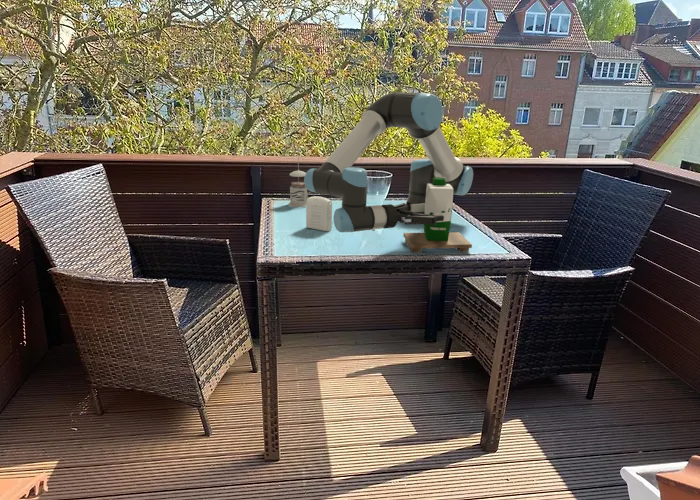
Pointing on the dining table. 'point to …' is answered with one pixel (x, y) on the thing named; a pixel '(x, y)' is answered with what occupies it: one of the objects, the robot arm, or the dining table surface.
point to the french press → (298, 189)
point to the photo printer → (319, 213)
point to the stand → (436, 242)
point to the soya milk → (438, 208)
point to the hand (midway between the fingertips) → (438, 211)
